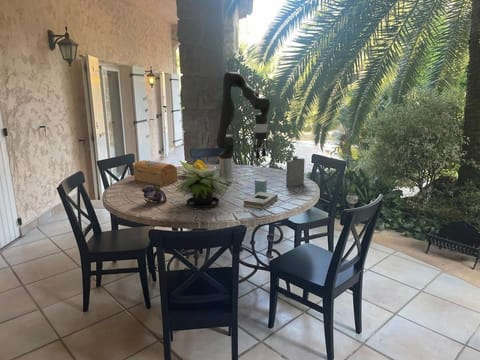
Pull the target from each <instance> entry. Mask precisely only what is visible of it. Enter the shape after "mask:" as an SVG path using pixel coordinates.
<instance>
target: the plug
mask: <svg viewBox="0 0 480 360" xmlns="http://www.w3.org/2000/svg"><path fill="white" fill-rule="evenodd" d="M267 183H268V182H267V179H262V178H261V179H260V178H257V179H255V180H254V194H256V193H258V192H266V193H268V192H267V190H268V189H267V187H268V186H267Z"/></svg>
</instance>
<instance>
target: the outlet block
mask: <svg viewBox="0 0 480 360" xmlns="http://www.w3.org/2000/svg"><path fill="white" fill-rule="evenodd" d="M278 195H279V194H278V193H272V192H258V193H254V194H252V195H251V196H249V197H247V198H246V199H244V200H243V206H245V207H250V208H258V209H265V208H266V207H268V206H270V205H271V204H272V203H274V202H276V201H277V200H278V197H279V196H278Z"/></svg>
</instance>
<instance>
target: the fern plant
mask: <svg viewBox="0 0 480 360" xmlns="http://www.w3.org/2000/svg"><path fill="white" fill-rule="evenodd" d="M183 165H184V164H183ZM183 165H182V166H183ZM184 166H187V165H184ZM185 168H191V170H192V169H193V170H194V171H195V172H194V171H193V170H192V171H193V172H194V175H195V176H196V177H195V178H190V180H189V177H187V178H188V179H186V178H185V179H182V180H181V181H178V182H176V183H175V184H174V187H173V188H172V191H174V190H175V191H174V192H173V193H172V195H174V194H175V193H177V192H179V191H180V192H181V191H182V190H183V189H185V191H184V194H185V195H183V198H184V197H185V196H186V195H187V194H189V193H190V194H191V197H190V198H188V199H187V200H186V206H187V207H189V208H190V207H191V208H190V209H194V208H196V210H207V209H206V208H208V209H212V207H213V208H216V207H217V206H218V205H219V204H220V200H219V199H220V198H218V196H220V197H223V195H222V194H224V193H225V192H226V193H228V194H230V192H229V189H230V190H231V188H230V187H229V186H227V183H226V181H225V182H224V180H223V179H224V178H223V179H222V178H221V177H219V175H218V176H217V172H218V171H219V170H220V169H224V168H220V167H219V168H220V169H219V168H216V169H215V171H214V170H213V171H212V172H209V171H206V172H203V173H204V174H199V173H200V172H199V171H198V170H196V169H195V168H194V167H191V166H188V167H185ZM185 170H189V169H185ZM191 170H190V171H191ZM197 171H198V172H197ZM193 172H192V173H193ZM208 172H209V173H208ZM195 173H196V174H197V175H196V174H195ZM198 174H199V175H198ZM214 175H215V176H214ZM182 176H183V177H186V176H190V175H186V174H177V177H182ZM190 177H192V176H190ZM225 180H226V179H225ZM220 181H221V182H220ZM222 181H223V182H222ZM225 184H226V185H225ZM229 185H230V186H232V184H231V183H229ZM187 187H188V188H187ZM221 192H222V193H221ZM217 195H218V196H217Z"/></svg>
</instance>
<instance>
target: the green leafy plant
mask: <svg viewBox="0 0 480 360" xmlns="http://www.w3.org/2000/svg"><path fill="white" fill-rule="evenodd" d="M192 165H193V167H194V168H195V165H194V164H192ZM192 170H193V169H192ZM192 170H191V171H190V170H189V171H188V174H187V175H190V176H192V177H190V176H186V175H185V180H186V179H188V178H187V177H189V180H190V178H195V177H196V176H195V175H194V172H195V171H194V170H193V171H194V172H193V171H192ZM196 170H198V169H196ZM198 171H199V172H200V170H198ZM198 171H197V172H198ZM192 172H193V173H192ZM195 174H196V173H195ZM199 174H201V173H199ZM199 174H198V175H199ZM196 175H197V174H196ZM186 187H187V186H186ZM187 188H188V187H187ZM187 188H186V189H187Z"/></svg>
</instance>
